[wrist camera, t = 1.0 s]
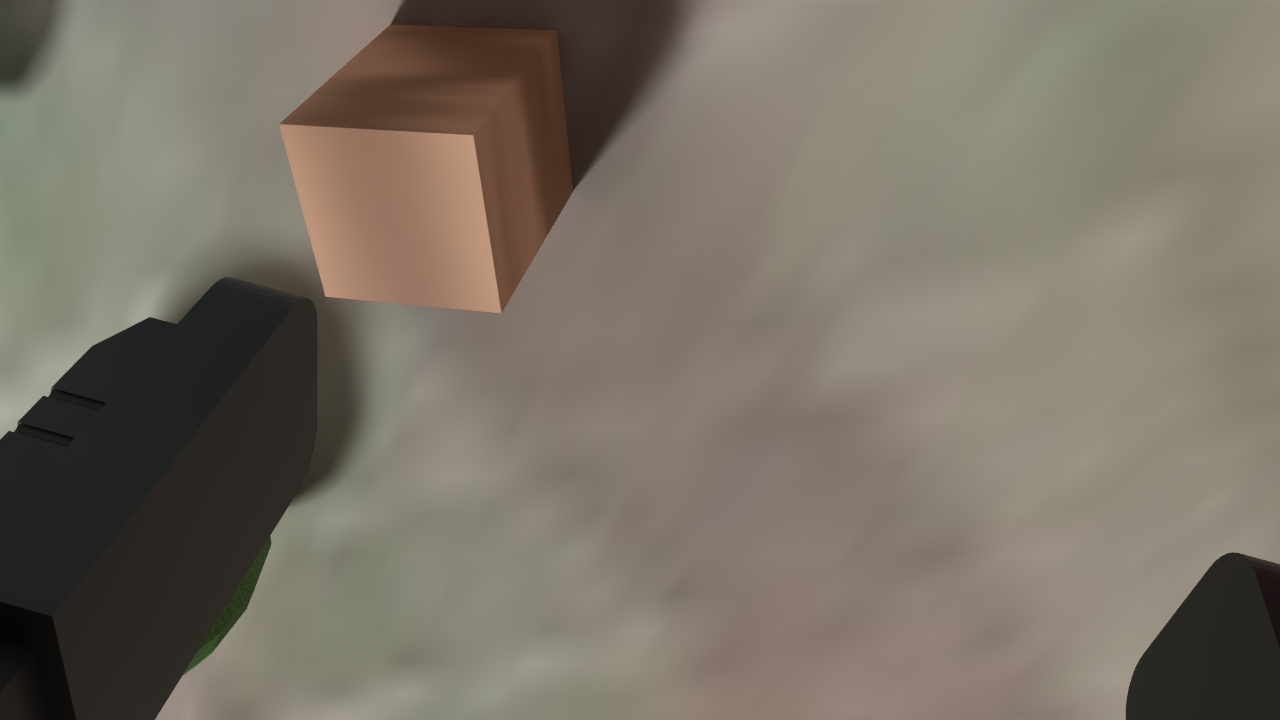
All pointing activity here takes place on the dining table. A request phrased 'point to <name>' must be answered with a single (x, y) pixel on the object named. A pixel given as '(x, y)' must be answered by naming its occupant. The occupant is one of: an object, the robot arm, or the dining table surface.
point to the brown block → (434, 165)
